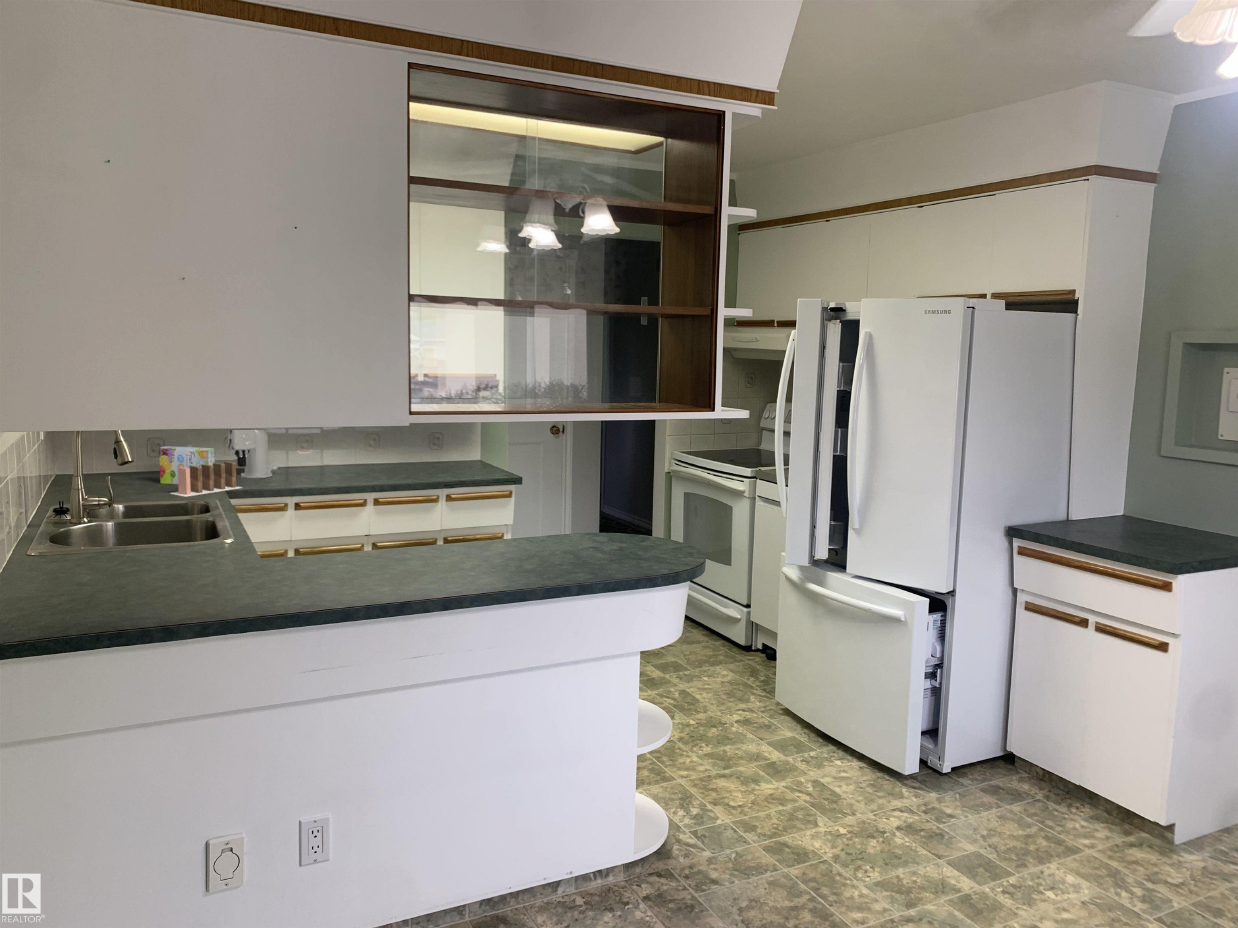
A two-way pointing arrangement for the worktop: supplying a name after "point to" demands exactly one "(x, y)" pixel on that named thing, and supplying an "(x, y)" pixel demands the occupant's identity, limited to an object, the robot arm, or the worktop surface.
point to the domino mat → (206, 491)
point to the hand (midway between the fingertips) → (241, 466)
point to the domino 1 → (184, 480)
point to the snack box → (182, 460)
